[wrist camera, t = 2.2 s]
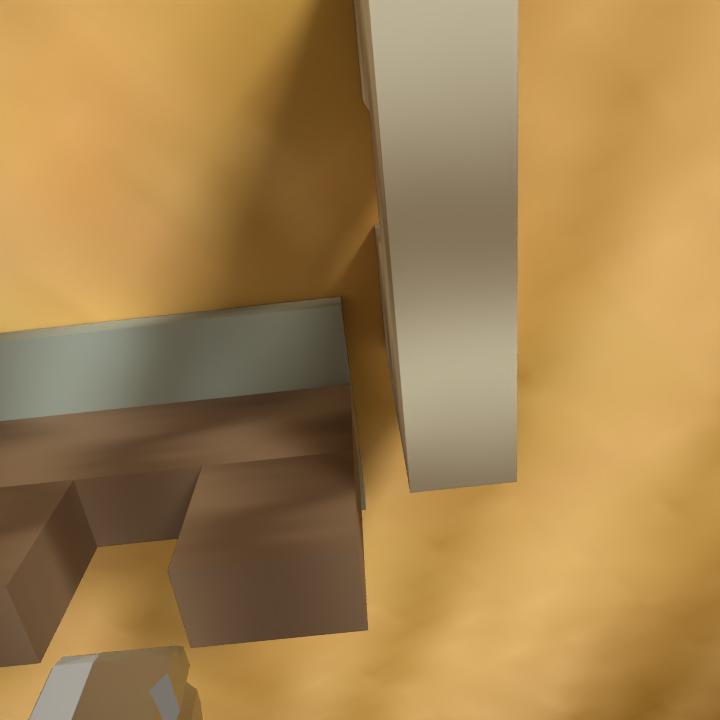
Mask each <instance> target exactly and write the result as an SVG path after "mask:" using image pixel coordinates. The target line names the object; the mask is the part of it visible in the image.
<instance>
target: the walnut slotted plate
mask: <svg viewBox="0 0 720 720" xmlns="http://www.w3.org/2000/svg"><path fill="white" fill-rule="evenodd" d="M361 510H366V505H365V492H364V484H363V476H362V468H361V460H360V451H359V443H358V435H357V427H356V418H355V410H354V402H353V394H352V385H351V377H350V369H349V361H348V352H347V344H346V336H345V328H344V320H343V311H342V303H341V297H333V298H323V299H314V300H305V301H295V302H286V303H277V304H268V305H258V306H249V307H240V308H230V309H221V310H212V311H203V312H193V313H184V314H175V315H165V316H156V317H147V318H138V319H128V320H119V321H110V322H101V323H91V324H82V325H73V326H63V327H54V328H45V329H36V330H26V331H17V332H8V333H0V667H7V666H17V665H27V664H37V663H40V662H41V660H42V658H43V656H44V654H45V652H46V650H47V648H48V646H49V644H50V642H51V640H52V638H53V636H54V634H55V632H56V630H57V628H58V626H59V624H60V622H61V620H62V618H63V616H64V614H65V612H66V610H67V607H68V605H69V603H70V601H71V599H72V597H73V595H74V593H75V591H76V589H77V587H78V585H79V583H80V581H81V579H82V577H83V575H84V573H85V571H86V569H87V567H88V565H89V563H90V561H91V559H92V557H93V555H94V553H95V551H96V549H97V547H101V546H111V545H121V544H130V543H140V542H150V541H159V540H169V539H178V541H177V544H176V547H175V550H174V553H173V556H172V559H171V562H170V565H169V568H168V574H169V577H170V581H171V584H172V587H173V590H174V594H175V597H176V600H177V604H178V607H179V610H180V614H181V617H182V620H183V624H184V627H185V630H186V634H187V637H188V640H189V644H190V647H191V648H196V647H206V646H216V645H226V644H236V643H246V642H256V641H266V640H276V639H286V638H295V637H305V636H315V635H325V634H335V633H345V632H355V631H365V630H368V621H367V603H366V585H365V566H364V548H363V529H362V511H361Z"/></svg>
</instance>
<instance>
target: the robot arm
mask: <svg viewBox="0 0 720 720" xmlns="http://www.w3.org/2000/svg"><path fill="white" fill-rule="evenodd" d="M189 666H190V664H189V661H188V659H187V656H186V653H185V650H184V647H181V646H169V647H158V648H147V649H136V650H125V651H114V652H103V653H99V654H89V655H78V656H68V657H62V658H61V659H60V660H59V661H58V662H57V663H56V664H55V666H54V667H53V668H52V669H51V671H50V674H49V676H48V678H47V680H46V682H45V685H44V687H43V689H42V691H41V693H40V696H39V698H38V700H37V702H36V704H35V707H34V709H33V711H32V713H31V715H30V718H29V720H203V717H202V709H201V702H200V698H199V695H198V691H197V689H196V688H194V687H193V686H191V685H190V684H189V683H187V682H186V680H187V676H188V671H189Z"/></svg>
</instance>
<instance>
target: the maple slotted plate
mask: <svg viewBox="0 0 720 720" xmlns="http://www.w3.org/2000/svg"><path fill="white" fill-rule="evenodd" d="M353 2H354V13H355V24H356V34H357V45H358V56H359V67H360V77H361V88H362V99H363V102H364V104H365V105H366V107H367V108H368V110H369V112H370V123H371V134H372V146H373V157H374V168H375V179H376V190H377V201H378V213H379V224H380V225H374V228H375V238H376V249H377V260H378V271H379V281H380V292H381V303H382V314H383V324H384V335H385V346H386V353H387V359H388V364H389V370H390V376H391V382H392V388H393V394H394V400H395V406H396V412H397V417H398V423H399V429H400V435H401V441H402V447H403V453H404V459H405V465H406V471H407V476H408V482H409V488H410V493H413V492H423V491H432V490H442V489H452V488H461V487H471V486H481V485H490V484H500V483H510V482H517V213H518V0H353Z"/></svg>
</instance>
